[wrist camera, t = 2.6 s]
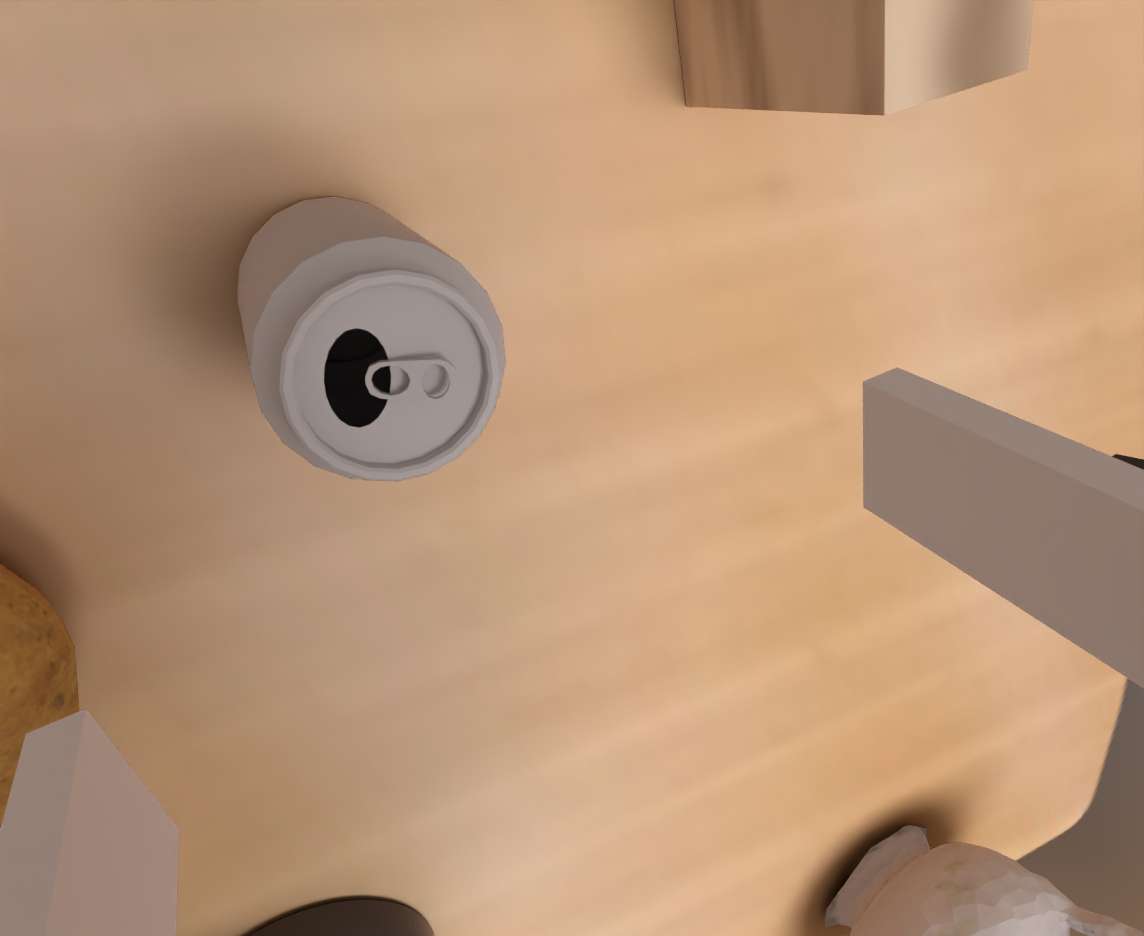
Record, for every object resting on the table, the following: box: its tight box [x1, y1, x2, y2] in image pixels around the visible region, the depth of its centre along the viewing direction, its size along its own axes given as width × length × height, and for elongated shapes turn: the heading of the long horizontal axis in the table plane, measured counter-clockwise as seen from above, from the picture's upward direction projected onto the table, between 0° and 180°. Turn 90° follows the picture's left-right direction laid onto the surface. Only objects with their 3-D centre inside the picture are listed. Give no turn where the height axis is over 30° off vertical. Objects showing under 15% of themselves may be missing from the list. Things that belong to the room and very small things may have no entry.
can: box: [237, 196, 506, 481], centre depth 27 cm, size 8×8×12 cm
